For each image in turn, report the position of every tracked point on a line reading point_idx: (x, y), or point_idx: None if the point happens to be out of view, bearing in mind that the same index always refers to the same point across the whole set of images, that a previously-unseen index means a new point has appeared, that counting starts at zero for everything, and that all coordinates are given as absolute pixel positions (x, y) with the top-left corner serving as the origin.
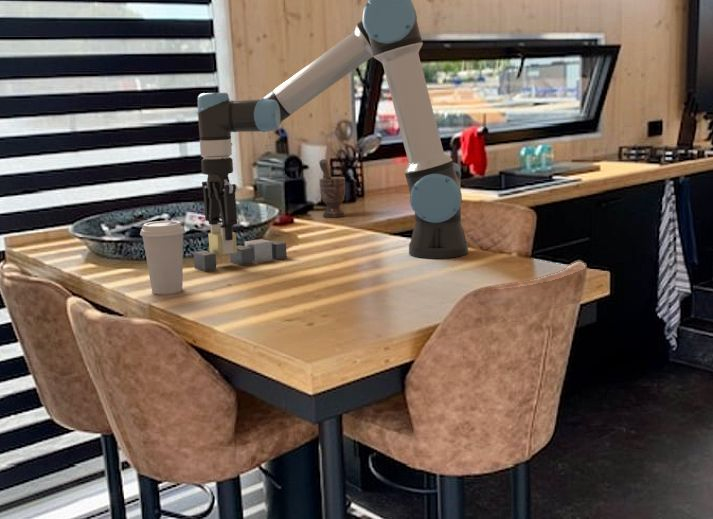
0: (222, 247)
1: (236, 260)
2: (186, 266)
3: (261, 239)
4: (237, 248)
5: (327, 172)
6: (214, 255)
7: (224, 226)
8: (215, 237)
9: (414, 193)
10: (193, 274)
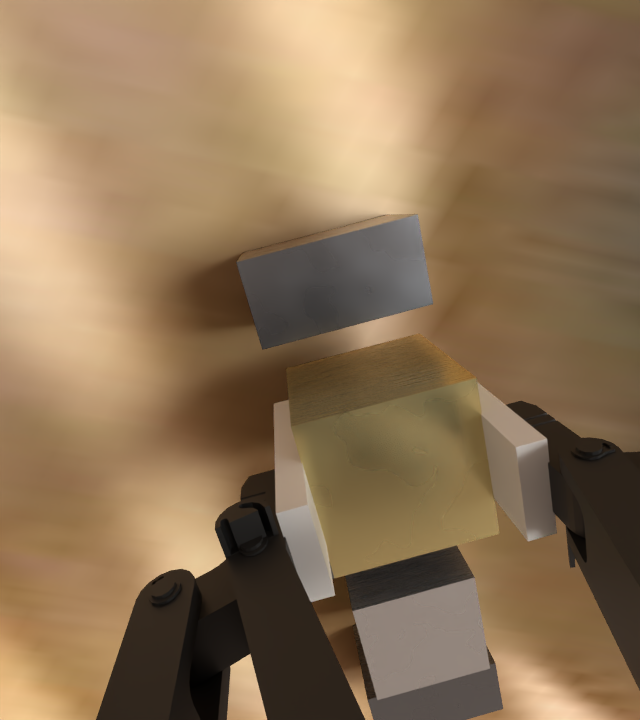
0: (289, 417)
1: None
2: (469, 178)
3: (477, 666)
4: None
5: None
6: (260, 338)
7: (227, 541)
8: (330, 407)
9: None
10: (197, 165)
